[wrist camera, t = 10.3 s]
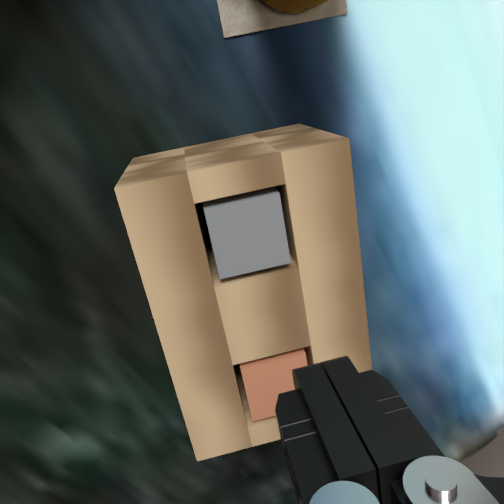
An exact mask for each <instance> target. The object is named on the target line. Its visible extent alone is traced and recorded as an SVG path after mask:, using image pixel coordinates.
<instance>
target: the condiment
mask: <svg viewBox="0 0 504 504" xmlns="http://www.w3.org/2000/svg"><path fill="white" fill-rule="evenodd" d="M217 3H218V9H219V14H220V19H221V24H222V29H223V34H224V38H226V37H231V36H236V35H241V34H247V33H251V32H257V31H261V30H267V29H272V28H277V27H282V26H288V25H293V24H298V23H303V22H308V21H313V20H319V19H324V18H329V17H334V16H339V15H344V14H347V4H346V0H255V1H253V0H217Z"/></svg>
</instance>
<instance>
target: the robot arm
mask: <svg viewBox="0 0 504 504" xmlns="http://www.w3.org/2000/svg"><path fill="white" fill-rule="evenodd" d="M292 376H293V382H294V387H295V390H292V391H288V392H284V393H280V394H278V399H277V403H276V407H275V412H276V417H277V422H278V427H279V432H280V437H281V442H282V447H283V452H284V456H285V459H286V463H287V466H288V469H289V472H290V476H291V479H292V483H293V486H294V489H295V493H296V496H297V499H298V503H299V504H504V478H496V477H484V476H479V475H475V474H473V473H472V472H471V471H470V470H469V469H468V468H466V467H465V466H463V465H462V464H461V463H459V462H457V461H455V460H453V459H450V458H447V457H445V456H444V455H443V453H442V452H441V451H440V449H439V448H438V447H437V445H436V444H435V443H434V441H433V440H432V439H431V437H430V436H429V434H428V433H427V432H426V430H425V429H424V428H423V426H422V425H421V424H420V422H419V421H418V419H417V418H416V417H415V415H414V414H413V413H412V411H411V410H410V409H408V407H407V404H406V403H405V402H404V400H403V399H402V398H401V397H400V396H399V394H398V392H397V391H396V390H395V388H394V387H393V385H392V384H391V383H390V381H389V380H388V379H386V378H385V377H383V376H382V375H380V374H378V373H377V372H375V371H373V370H368V371H364V372H361V373H359V372H358V371H357V369H356V368H355V366H354V365H353V363H352V361H351V360H350V358H349V357H348V356H343V357H339V358H335V359H331V360H327V361H323V362H320V364H319V363H316V364H312V365H308V366H304V367H300V368H296V369H292Z"/></svg>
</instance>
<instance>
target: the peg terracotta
mask: <svg viewBox="0 0 504 504" xmlns="http://www.w3.org/2000/svg"><path fill="white" fill-rule="evenodd" d="M304 366H308V365H307V359H306V353H305V351H304V349H303V348H300V349H296V350H292V351H288V352H284V353H280V354H276V355H272V356H268V357H264V358H260V359H256V360H252V361H248V362H244V363H240V369H241V373H242V377H243V382H244V386H245V390H246V395H247V399H248V403H249V408H250V412H251V416H252V421H257V420H261V419H264V418H268V417H272V416H276V412H275V407H276V403H277V399H278V394H280V393H284V392H288V391H292V390H295V387H294V382H293V376H292V369H296V368H300V367H304Z"/></svg>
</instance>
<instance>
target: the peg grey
mask: <svg viewBox="0 0 504 504" xmlns="http://www.w3.org/2000/svg"><path fill="white" fill-rule="evenodd" d="M202 204H203V209H204V213H205V217H206V222H207V226H208V230H209V235H210V239H211V243H212V248H213V252H214V256H215V261H216V265H217V269H218V273H219V278H220V279H224V278H228V277H233V276H237V275H241V274H245V273H250V272H254V271H258V270H263V269H267V268H271V267H275V266H280V265H284V264H288V263H291V260H290V254H289V248H288V242H287V235H286V229H285V223H284V217H283V211H282V205H281V199H280V193H279V192H278V191H277V190H276V189H275V188H274V187H269V188H264V189H259V190H255V191H250V192H246V193H241V194H236V195H232V196H227V197H223V198H218V199H214V200H209V201H204V202H202Z"/></svg>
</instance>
